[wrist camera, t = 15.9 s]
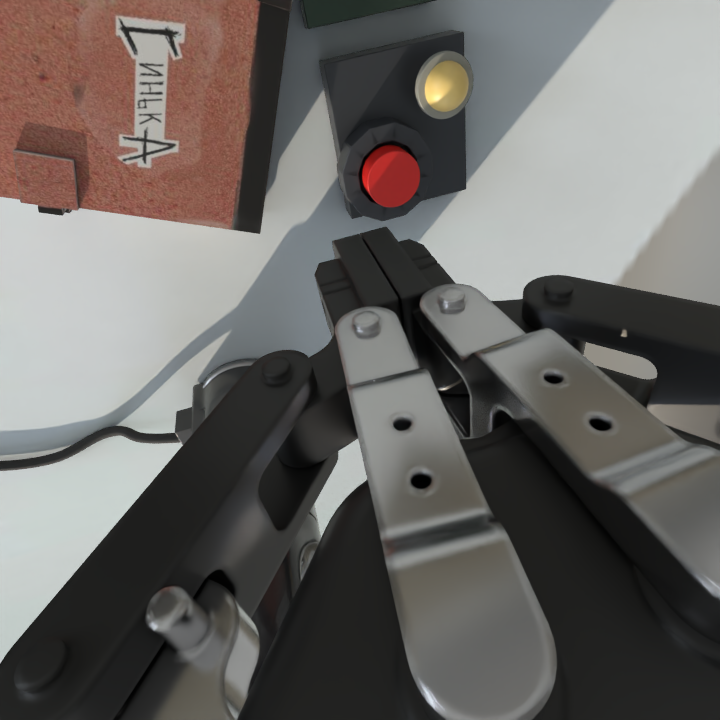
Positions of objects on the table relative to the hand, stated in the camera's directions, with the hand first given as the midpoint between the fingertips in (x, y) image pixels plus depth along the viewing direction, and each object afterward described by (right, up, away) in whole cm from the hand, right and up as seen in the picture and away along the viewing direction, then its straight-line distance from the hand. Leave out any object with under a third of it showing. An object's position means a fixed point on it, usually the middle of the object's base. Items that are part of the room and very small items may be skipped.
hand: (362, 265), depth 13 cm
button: (+2, +11, +22) cm, 25 cm away
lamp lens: (+6, +16, +19) cm, 26 cm away
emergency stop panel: (+3, +16, +24) cm, 29 cm away
